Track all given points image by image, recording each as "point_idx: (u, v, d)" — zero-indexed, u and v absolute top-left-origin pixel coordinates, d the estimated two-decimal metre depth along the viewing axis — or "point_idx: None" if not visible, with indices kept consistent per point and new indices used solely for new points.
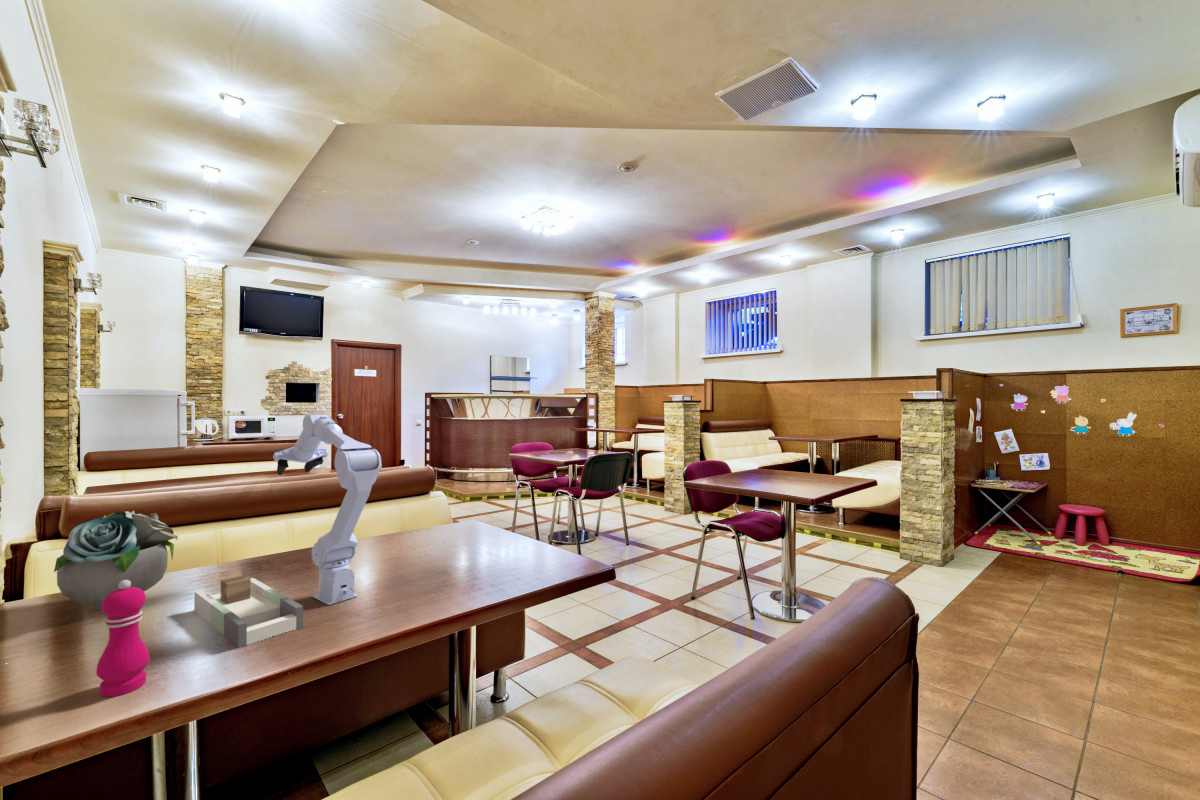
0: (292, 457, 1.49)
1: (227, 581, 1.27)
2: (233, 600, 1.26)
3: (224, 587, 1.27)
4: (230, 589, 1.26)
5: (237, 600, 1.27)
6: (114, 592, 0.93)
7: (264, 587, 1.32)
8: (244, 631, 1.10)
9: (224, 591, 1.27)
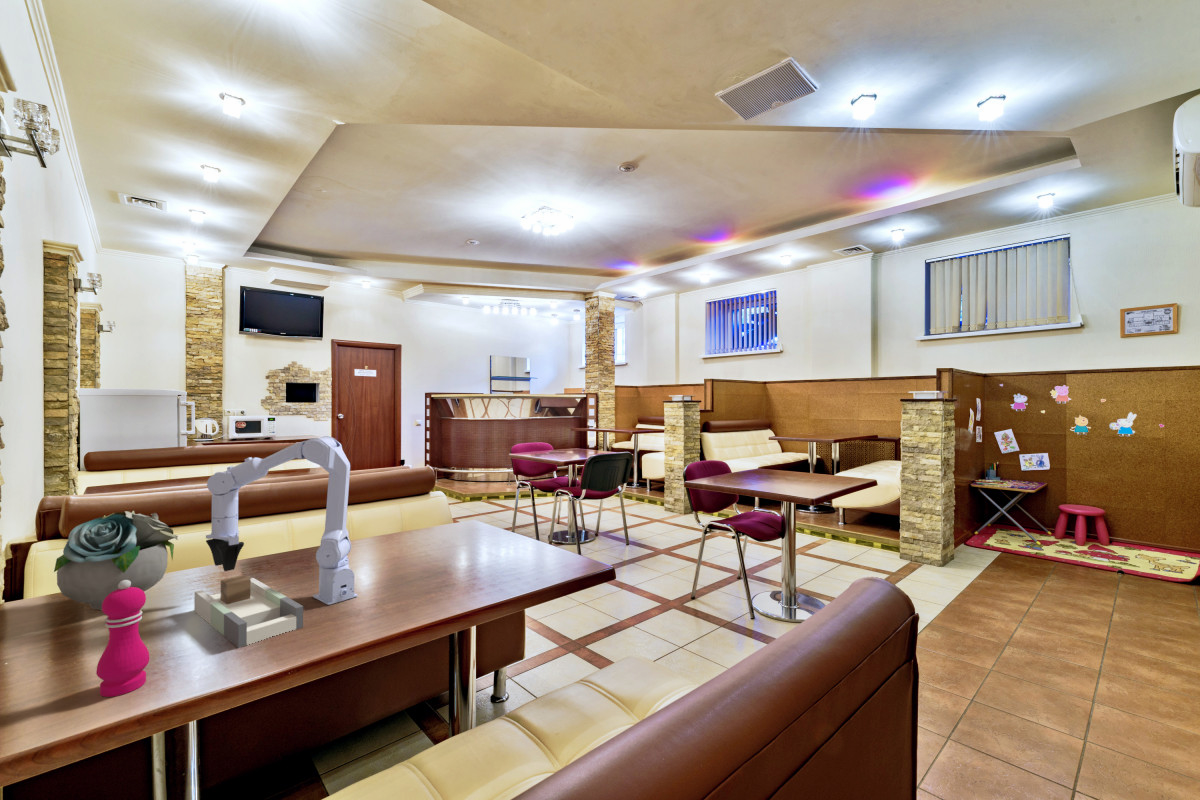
0: (233, 535, 1.33)
1: (227, 581, 1.27)
2: (233, 600, 1.26)
3: (224, 587, 1.27)
4: (230, 589, 1.26)
5: (237, 600, 1.27)
6: (114, 592, 0.93)
7: (264, 587, 1.32)
8: (244, 631, 1.10)
9: (224, 591, 1.27)
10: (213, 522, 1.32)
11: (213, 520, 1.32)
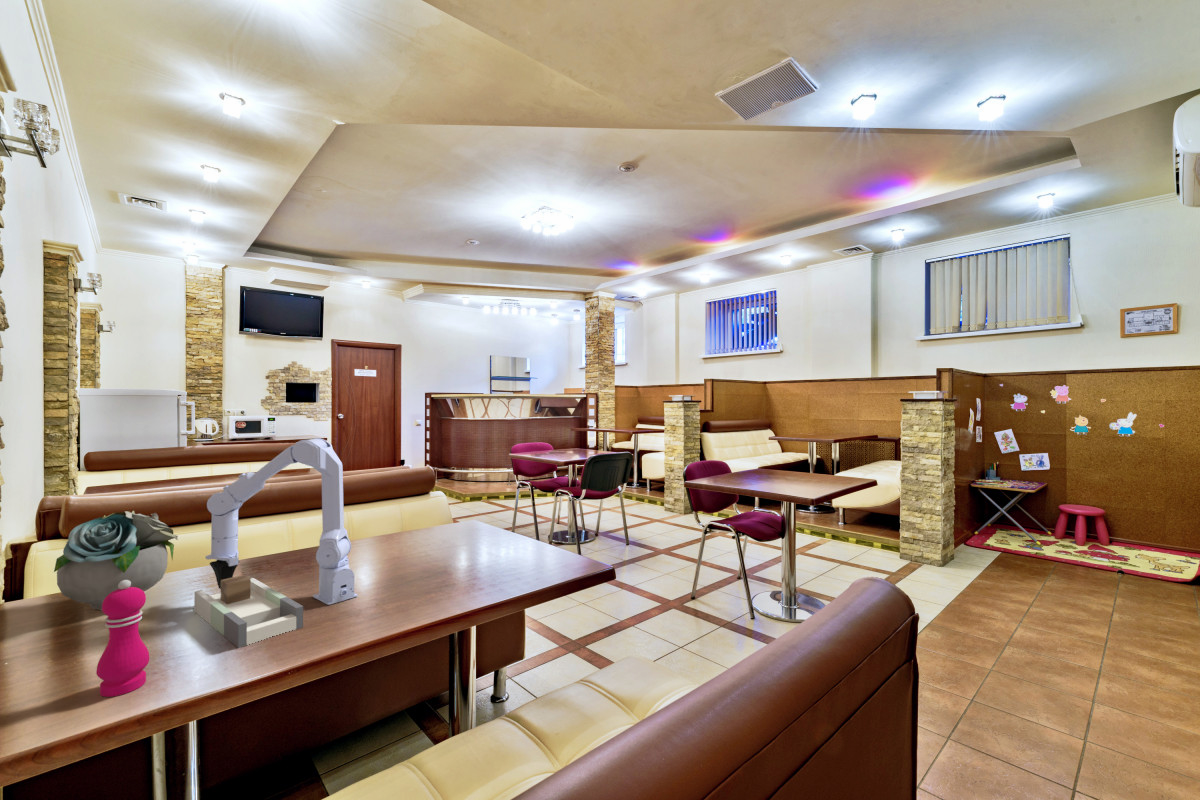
0: (233, 555, 1.33)
1: (227, 581, 1.27)
2: (233, 600, 1.26)
3: (224, 587, 1.27)
4: (230, 589, 1.26)
5: (237, 600, 1.27)
6: (114, 592, 0.93)
7: (264, 587, 1.32)
8: (244, 631, 1.10)
9: (224, 591, 1.27)
10: (213, 543, 1.32)
11: (213, 541, 1.32)
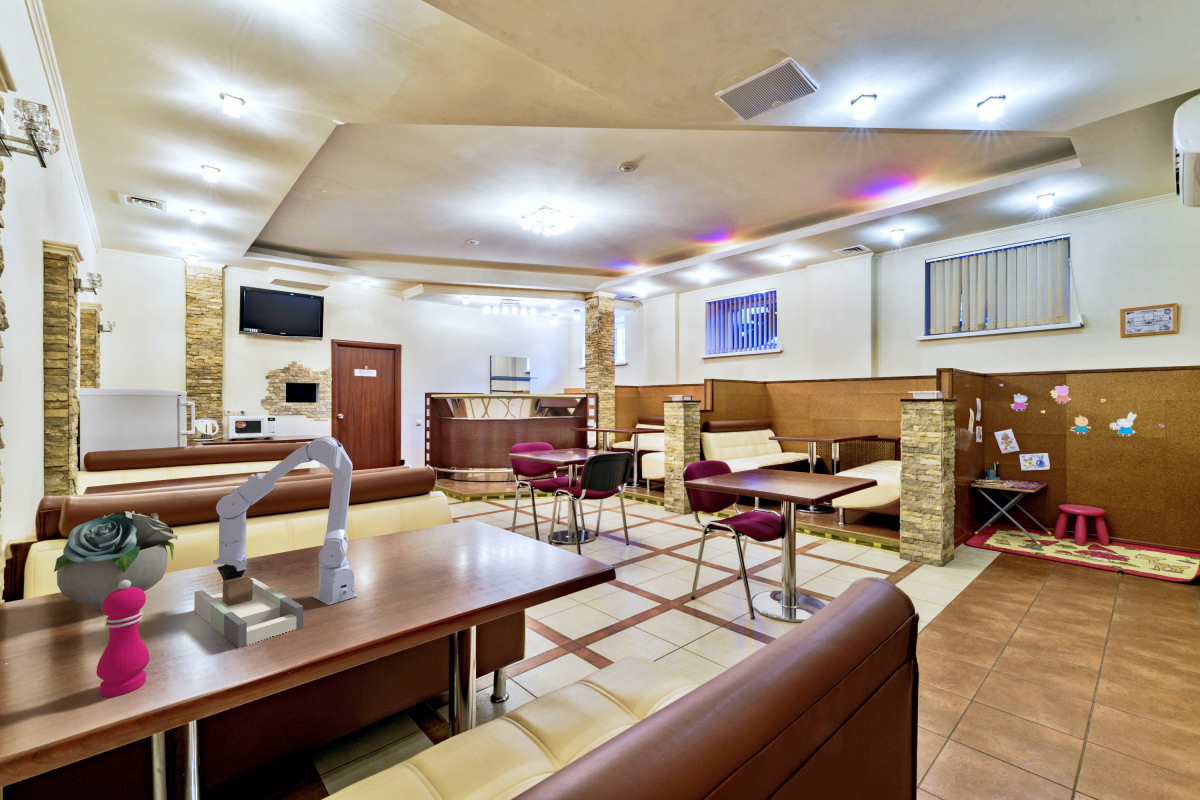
0: (241, 559, 1.30)
1: (229, 583, 1.26)
2: (235, 602, 1.25)
3: (227, 589, 1.25)
4: (232, 591, 1.25)
5: (239, 602, 1.26)
6: (114, 592, 0.93)
7: (264, 587, 1.32)
8: (244, 631, 1.10)
9: (226, 593, 1.26)
10: (220, 547, 1.28)
11: (220, 545, 1.28)
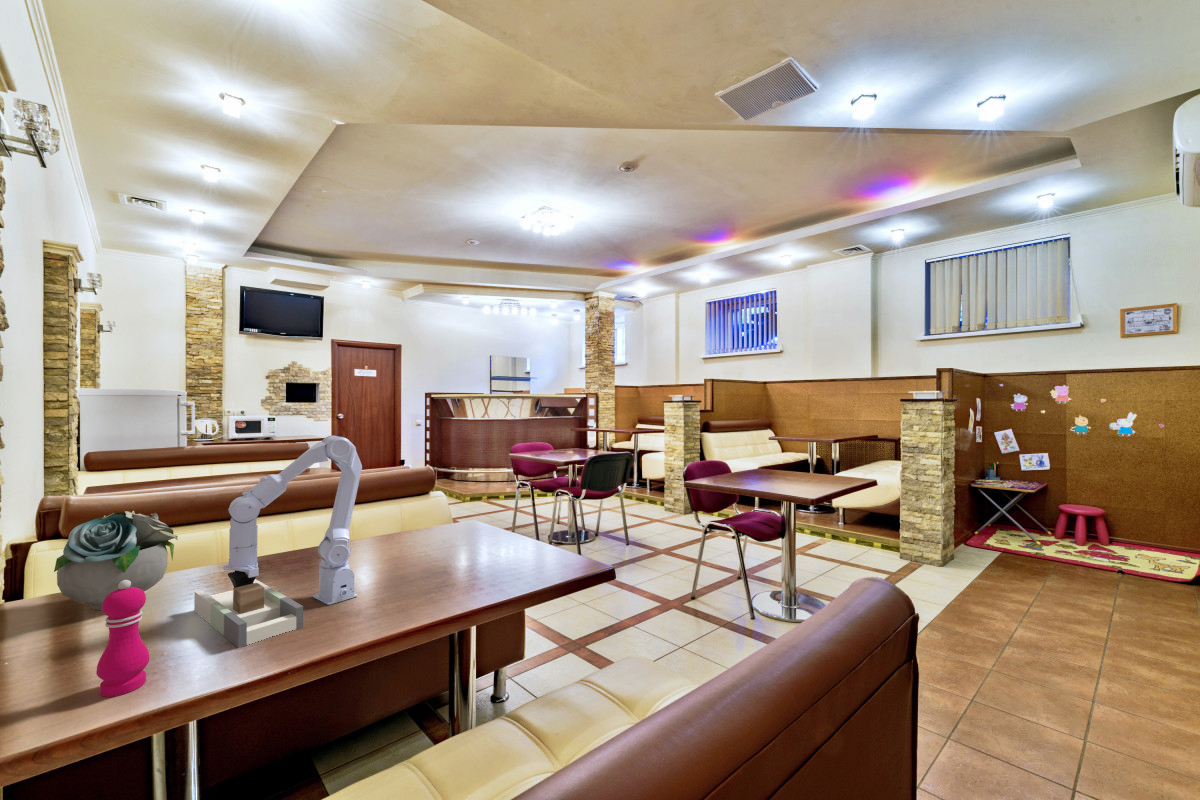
0: (252, 565, 1.25)
1: (240, 590, 1.21)
2: (246, 610, 1.21)
3: (237, 596, 1.21)
4: (243, 598, 1.20)
5: (250, 609, 1.21)
6: (114, 592, 0.93)
7: (264, 587, 1.32)
8: (244, 631, 1.10)
9: (237, 600, 1.21)
10: (231, 552, 1.23)
11: (231, 550, 1.23)
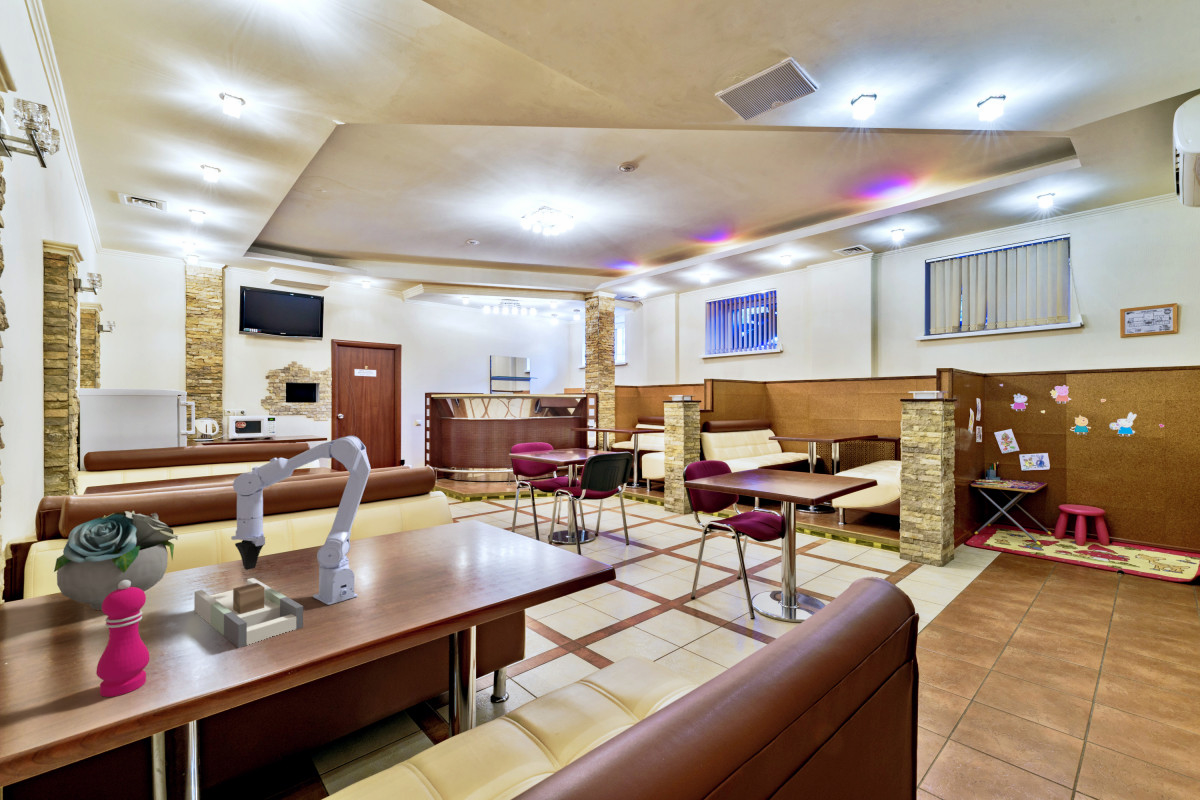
0: (259, 535, 1.33)
1: (240, 590, 1.21)
2: (246, 610, 1.21)
3: (237, 596, 1.21)
4: (243, 598, 1.20)
5: (250, 610, 1.21)
6: (114, 592, 0.93)
7: (264, 587, 1.32)
8: (244, 631, 1.10)
9: (237, 600, 1.21)
10: (239, 523, 1.31)
11: (238, 521, 1.31)
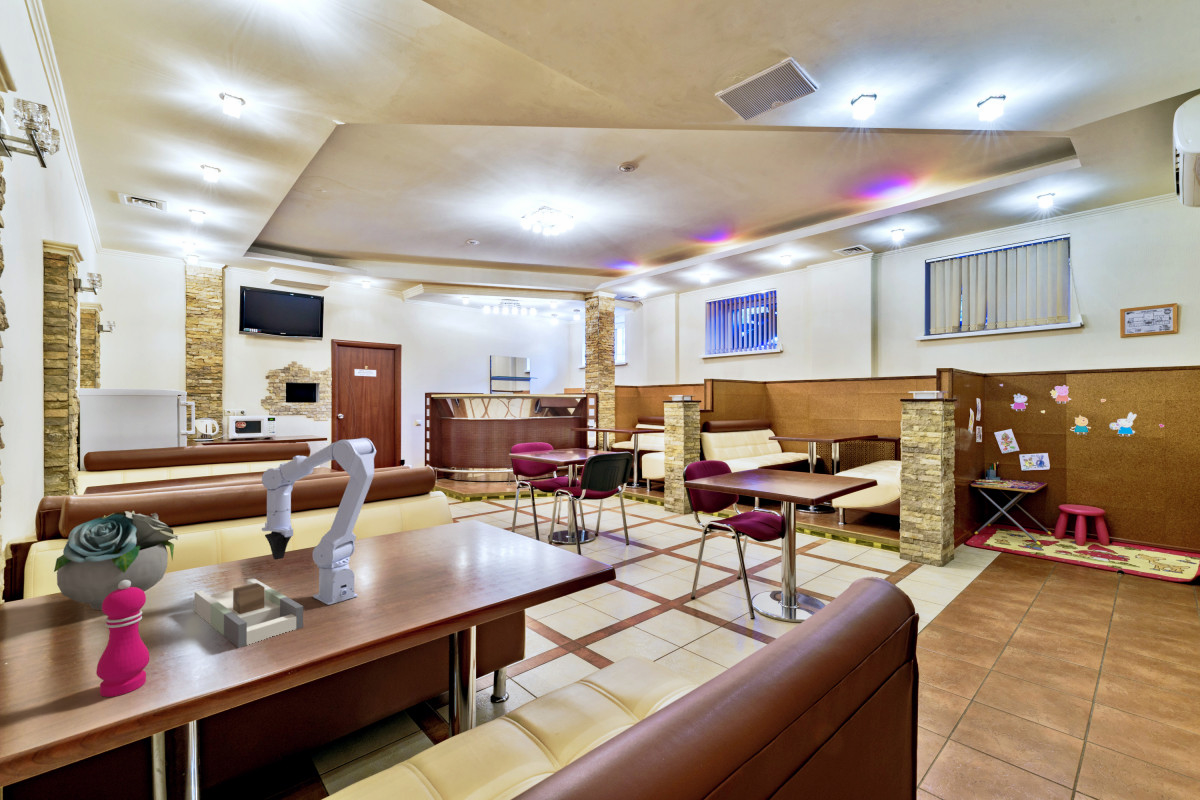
0: (287, 527, 1.41)
1: (240, 590, 1.21)
2: (246, 610, 1.21)
3: (237, 596, 1.21)
4: (243, 598, 1.20)
5: (250, 610, 1.21)
6: (114, 592, 0.93)
7: (264, 587, 1.32)
8: (244, 631, 1.10)
9: (237, 600, 1.21)
10: (269, 515, 1.40)
11: (269, 514, 1.40)
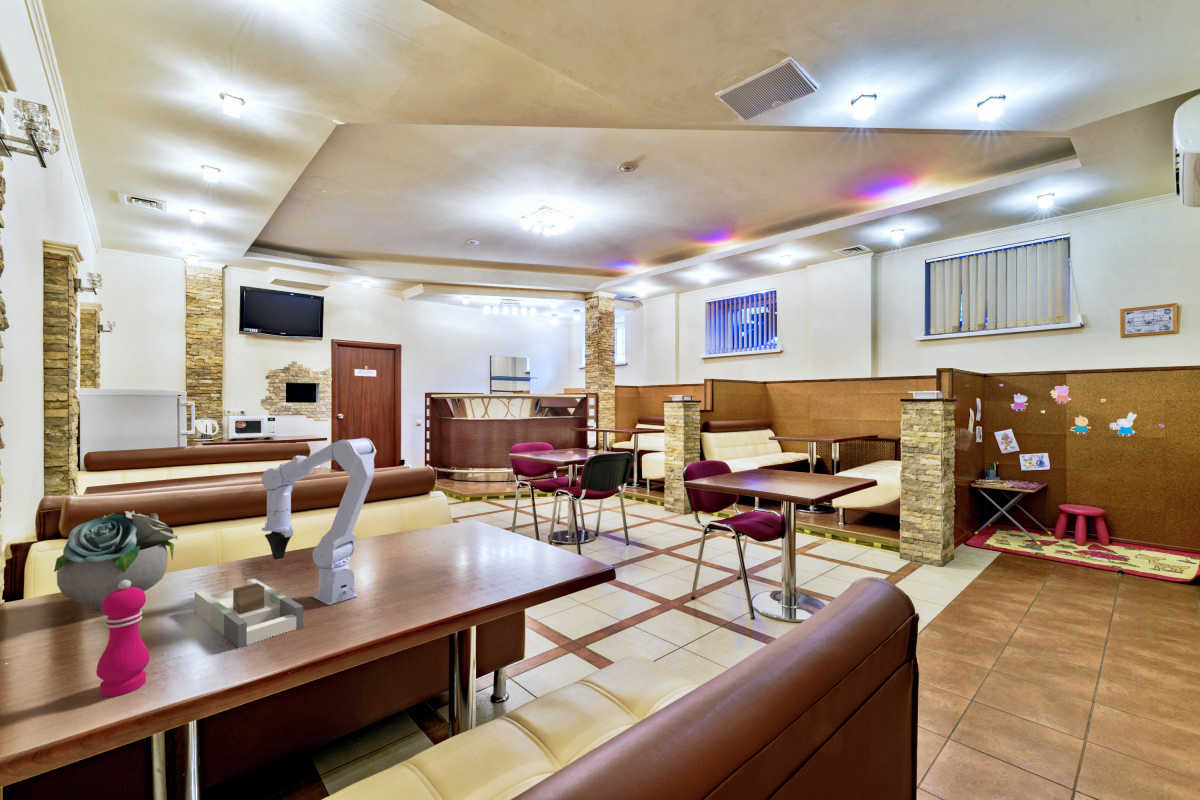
0: (287, 527, 1.41)
1: (240, 590, 1.21)
2: (246, 610, 1.21)
3: (237, 596, 1.21)
4: (243, 598, 1.20)
5: (250, 610, 1.21)
6: (114, 592, 0.93)
7: (264, 587, 1.32)
8: (244, 631, 1.10)
9: (237, 600, 1.21)
10: (269, 515, 1.40)
11: (269, 514, 1.40)
